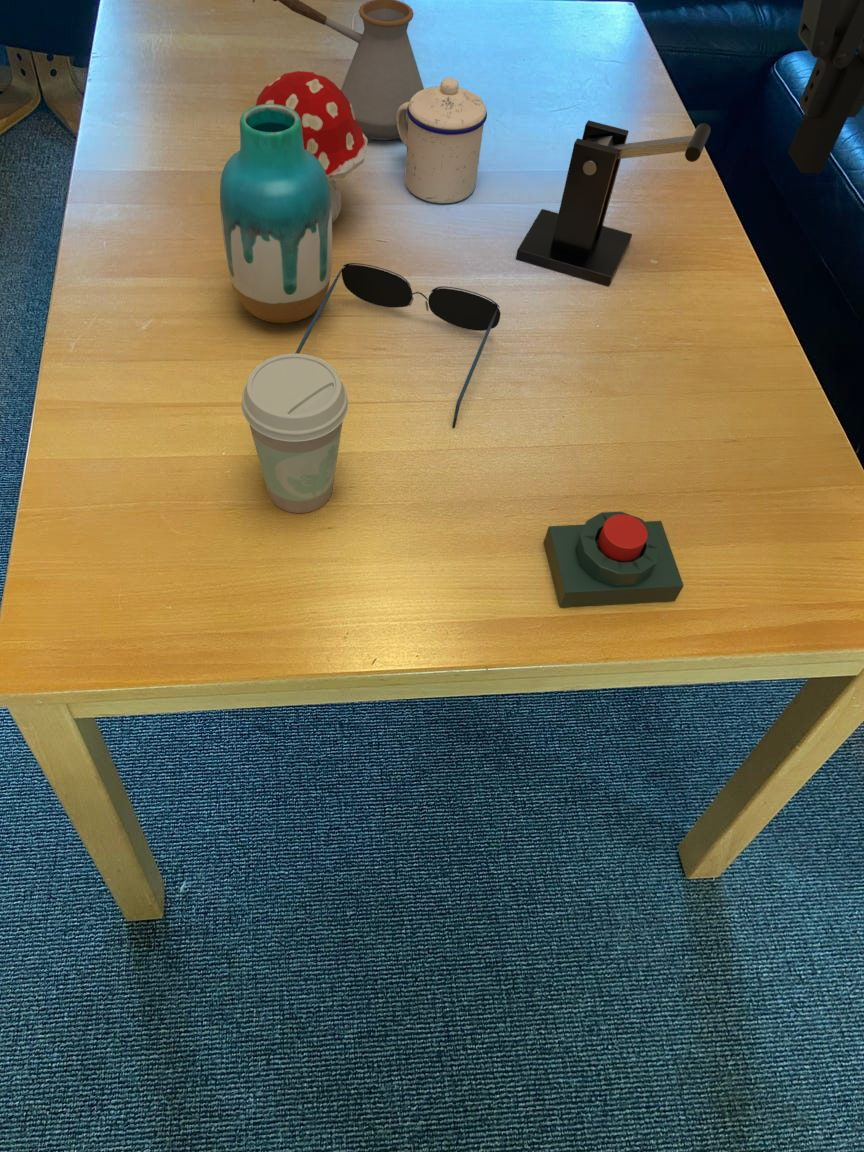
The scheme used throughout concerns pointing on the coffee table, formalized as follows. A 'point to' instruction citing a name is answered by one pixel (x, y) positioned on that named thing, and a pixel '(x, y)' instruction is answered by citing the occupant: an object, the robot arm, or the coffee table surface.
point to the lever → (662, 145)
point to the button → (622, 537)
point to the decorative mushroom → (321, 124)
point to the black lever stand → (582, 215)
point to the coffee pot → (376, 64)
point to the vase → (276, 218)
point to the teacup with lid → (442, 141)
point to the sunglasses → (398, 293)
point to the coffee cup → (296, 427)
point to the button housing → (609, 567)
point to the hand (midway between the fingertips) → (804, 161)
